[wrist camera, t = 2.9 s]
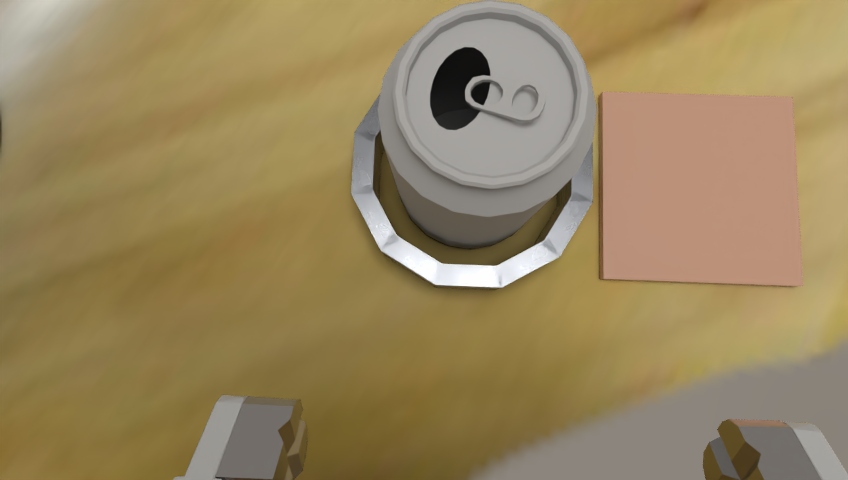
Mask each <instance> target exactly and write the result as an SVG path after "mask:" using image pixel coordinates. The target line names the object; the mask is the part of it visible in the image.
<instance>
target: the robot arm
mask: <svg viewBox="0 0 848 480" xmlns="http://www.w3.org/2000/svg"><path fill="white" fill-rule="evenodd" d="M302 411H303V407H302V404H301V400H300V399H283V398H266V397H250V396H234V395H222V396H221V397H220V398H219V399H218V401H217V402H216V403H215V405H214V408H213V410H212V412H211V415H210V417H209V419H208V422H207V424H206V426H205V429H204V431H203V434H202V436H201V438H200V441H199V443H198V445H197V448H196V450H195V452H194V455H193V457H192V459H191V462H190V464H189V466H188V469H187V471H186V473H185V476H176V477H175V478H174V479H173V480H294V479H295V478H296V477H297V476H298V475H299V474H300V473H301V472H302V471H303V467H304V462H305V458H306V451H307V442H308V435H307V426H306V423H305V422H304V421H303V420H302V419H301V415H302ZM717 430H718V432H719V434H720V437H719V438H717V439H715V440H713V441H711V442H709V444H708V445H707V447H706V449H705V451H704V457H703V469H704V474H705V478H706V480H848V474H847V473H846V471H845V469H844V468H843V466H842V464H841V463H840V461H839V460H838V458H837V456H836V455H835V453H834V452H833V450H832V449H831V447H830V445H829V444H828V442H827V441H826V439H825V437H824V436H823V434H822V433H821V432H820V430H819V429H818V428H817V427H816V426H815V425H813V424H811V423H806V422H781V421H772V420H770V421H769V420H739V419H738V420H737V419H728V420H726V421H723V422H722V423H721V425H720V426H719V427H718V429H717Z"/></svg>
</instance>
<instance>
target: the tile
mask: <svg viewBox="0 0 848 480" xmlns="http://www.w3.org/2000/svg"><path fill="white" fill-rule="evenodd" d="M599 197H600V279H605V280H631V281H658V282H684V283H711V284H738V285H764V286H791V287H798V286H803V275H802V257H801V238H800V220H799V202H798V183H797V165H796V146H795V128H794V110H793V97H775V96H739V95H703V94H668V93H632V92H602V93H601V94H600V96H599Z"/></svg>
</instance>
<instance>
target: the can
mask: <svg viewBox="0 0 848 480" xmlns="http://www.w3.org/2000/svg"><path fill="white" fill-rule="evenodd" d="M596 111H597V107H596V102H595V97H594V93H593V88H592V83H591V78H590V75H589V74H588V72H587V70H586V66H585V62H584V60H583V59H582V57H581V55H580V53H579V52H578V50H577V48H576V47H575V45H574V43H573V41H572V40H571V38H570V36H568V35H567V34H566V33H565V32H564V31H563V30H562V29H561V28H560V27H558V26H557V25H556V24H555V23H554V22H553V21H552V20H551V19H549V18H548V17H547V16H545V15H543V14H541V13H538V12H536V11H534V10H532V9H530V8H528V7H525V6H523V5H521V4H516V3H509V2H502V1H494V0H486V1H479V2H473V3H467V4H461V5H458V6H456V7H454V8H452V9H450V10H448V11H446V12H444V13H442V14H440V15H437V16H435V17H433V18H432V19H431V20H430V21H429V22H428V23H427V24H426V25H425V26H423V27H422V28H421V29H420V30H419V31H418V32H417V33H416V34H415V35H414V36H413V37H411V38H410V39H409V40H408V41H407V42H406V43H405V44H404V45H403V46H402V47H401V48H400V49H399V50H398V52H397V54H396V56H395V57H394V59H393V61H392V63H391V65H390V67H389V68H388V70H387V72H386V74H385V76H384V78H383V83H382V88H381V94H380V99H379V105H378V116H379V123H380V129H381V136H382V142H383V146H384V149H385V152H386V155H387V158H388V161H389V164H390V167H391V170H392V174H393V177H394V180H395V183H396V186H397V189H398V192H399V195H400V198H401V201H402V203H403V205H404V207H405V209H406V211H407V212H408V214H409V216H410V218H411V220H412V221H413V222H414V223H415V224H416V225H417V226H418V227H419V228H420V229H421V230H422V231H423V232H424V233H425V234H426V235H428V236H430V237H432V238H434V239H436V240H438V241H440V242H442V243H444V244H446V245H449V246H455V247H462V248H468V249H472V248H478V247H485V246H491V245H494V244H496V243H498V242H500V241H502V240H504V239H506V238H508V237H510V236H512V235H513V234H514V233H515V232H516V231H517V230H519V229H520V228H521V227H522V226H523V225H524V224H525V223H526V222H527V221H528V220H529V219H530V218H531V217H532V216H533V215H534V214H535V213H536V212H538V211H539V210H540V209H541V208H542V207H543V206H544V205H545V204H546V203H547V202H548V201H549V200H550V199H551V198H552V197H553V196H554V195H555V194H556V193H557V192H558V191H559V190H560V189H561V188H562V187H563V186H564V185H565V184H566V183H567V182H568V181H569V180H570V179H571V178H572V177H573V176H574V175H575V174H576V173H577V172H578V171H579V169H580V167H581V165H582V162H583V160H584V158H585V156H586V154H587V152H588V150H589V148H590V146H591V144H592V142H593V136H594V127H595V119H596Z"/></svg>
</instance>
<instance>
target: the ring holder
mask: <svg viewBox="0 0 848 480" xmlns="http://www.w3.org/2000/svg"><path fill="white" fill-rule="evenodd" d="M380 94H381V93H380ZM379 99H380V95H379V96H378V98H377V99H376V101H375V102H374V104H373V105H372V107H371V108H370V110H369V111H368V113H367V114H366V116H365V117H364V119H363V120H362V122H361V123H360V125H359V126H358V128H357V129H356V131H355V137H354V154H353V171H352V189H351V194H352V196H353V198H354V200H355V202H356V204H357V206H358V208H359V210H360V212H361V214H362V215H363V217H364V219H365V221H366V223H367V225H368V227H369V229H370V231H371V233H372V235H373V237H374V239H375V241H376V243H377V244H378V246H379V248H380V250H381V251H382V252H383V253H384V254H385V256H387V257H388V258H390V259H391V260H393V261H395V262H396V263H398V264H399V265H401V266H402V267H404V268H406V269H407V270H409V271H410V272H412V273H414V274H415V275H417V276H418V277H420V278H421V279H423V280H425V281H426V282H428V283H429V284H431V285H433V286H434V287H437V288H463V289H489V290H496V289H499V288H502V287H504V286H506V285H507V284H509V283H511V282H513V281H515V280H517V279H519V278H521V277H522V276H524V275H526V274H528V273H530V272H532V271H534V270H536V269H537V268H539V267H541V266H543V265H545V264H547V263H549V262H551V261H553V260H554V259H556V258H558V257H560V255H561V254H562V252H563V250H564V249H565V247H566V245H567V244H568V242H569V240H570V239H571V237H572V235H573V234H574V232H575V230H576V229H577V227H578V225H579V224H580V222H581V220H582V219H583V217H584V215H585V214H586V212H587V211H588V209H589V207H590V206H591V204H592V202H593V142H592V144H591V146H590V148H589V150H588V152H587V154H586V156H585V158H584V160H583V162H582V165H581V167H580V169H579V171H578V172H577V173H576V174H575V175H574V176H573V177H572V178H571V179H570V180H569V181H568V182H567V183H566V184H565V185H564V186H563V187H562V188H561V189H560V190H559V191H558V192H557V208H556V210H555V212H554V213H553V215H552V217H551V218H550V220H549V221H548V223H547V225H546V226H545V228H544V230H543V231H542V233H541V235H540V236H539V238H538V240H537V241H536V243H535V244H534V246H533V247H531V248H529V249H527V250H525V251H524V252H522V253H520V254H518V255H516V256H514V257H512V258H510V259H509V260H507V261H505V262H503V263H501V264H499V265H497V266H487V265H461V264H442V263H440V262H438V261H437V260H435V259H434V258H432V257H430V256H429V255H427V254H426V253H424V252H422V251H421V250H419V249H418V248H416V247H414V246H413V245H411V244H410V243H408V242H406V241H405V240H403V239H402V238H400V237H398V236H397V235H396V233H395V231H394V229H393V227H392V225H391V224H390V222H389V220H388V218H387V216H386V214H385V212H384V210H383V208H382V206H381V204H380V203H379V191H380V172H381V155H382V154H383V152H384V151H385V149H384V146H383V142H382V136H381V129H380V123H379V116H378V105H379Z"/></svg>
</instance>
